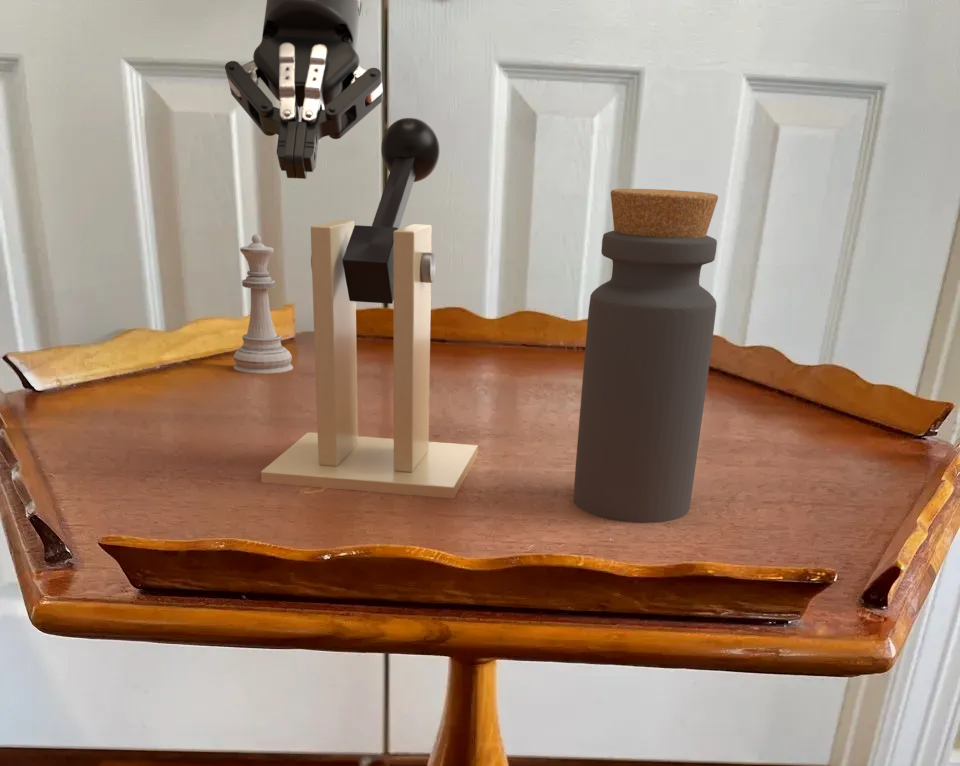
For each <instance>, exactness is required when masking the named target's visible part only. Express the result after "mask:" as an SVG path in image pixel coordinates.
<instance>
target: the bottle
mask: <svg viewBox="0 0 960 766" xmlns="http://www.w3.org/2000/svg"><path fill="white" fill-rule="evenodd" d="M610 200H611V201H610V202H611V211H612V213H611V214H612V221H613V230H611V231H607V232H605V233H603V235H602V240H601V255H602V256H603V257H605V258H607V259H609V260H611V261H612V270H611V277H610V279H609V280H608V281H606V282H603V283H602V284H600V285H599V286H598V287H596V288H595V289H594V290H593V291H592V292H591V293H590V297H589V302H588V304H589V305H588V311H587V324H586V337H585V347H584V358H583V359H584V360H583V368H582V370H583V371H582V381H581V382H582V383H581V394H580V395H581V396H580V406H579V409H580V410H579V418H578V419H579V420H578V431H577V432H578V433H577V443H576V455H575V456H576V458H575V468H574V482H573V483H574V484H573V499H572V500H573V504H574V506H576V507H577V508H578V509H580V510H581V511H582V512H585V513H587V514H588V515H592V516H595V517H598V518H601V519H606V520H611V521H616V522H623V523H633V524H634V523H636V524H654V523H655V524H656V523H666V522H671V521H675V520H678V519H681V518H683V517H685V516H686V515H687V514H688V513H689V512H690V510H691V509H690V508H691V501H692V495H693V487H694V481H695V480H694V479H695V474H696V473H695V472H696V468H697V467H696V466H697V459H698V453H699V452H698V451H699V443H700V435H701V429H702V421H703V413H704V406H705V399H706V393H707V384H708V378H709V370H710V364H711V356H712V349H713V338H714V331H715V321H716V313H717V300H716V299H715V298H714V296H713V295H712V293H710V292H709V291H708V290H707V289H706V288H704V287H702V285H700V279H701V278H700V277H701V271H702V267H703V266H704V265H707V264H710V263H713V262H714V261H715V258H716V254H717V246H718V240H717V239H716V238H714V237H712V236H710V235H707V233H708V231H709V228H710V225H711V222H712V219H713V217H714V213H715V209H716V206H717V203H718V200H719V196H718V194H715V193H710V192H703V191H693V190H692V191H691V190H677V189H676V190H675V189H659V188H657V189H656V188H614V189H611V190H610Z"/></svg>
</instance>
